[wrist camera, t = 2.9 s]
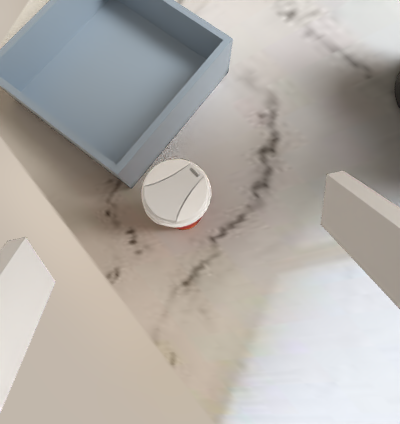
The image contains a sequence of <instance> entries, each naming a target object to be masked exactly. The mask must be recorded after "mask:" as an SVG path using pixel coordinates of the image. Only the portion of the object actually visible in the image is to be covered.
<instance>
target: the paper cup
mask: <svg viewBox="0 0 400 424" xmlns="http://www.w3.org/2000/svg"><path fill="white" fill-rule="evenodd" d="M141 198H142V203H143V206H144V209H145V213H146V214H147V215H148V217H149V218H150V219H151V220H153V221H154V222H155V223H157V224H160V225H164V226H168V227H174V228H177V229H181V230H186V229H190V228H192V227H194V226H195V225H196V224H197V223H198V222H199V221H200V219H201V217H202V216H203V214H204V213H205V212H206V210H207V208H208V206H209V204H210V200H211V185H210V182H209V179H208V177H207V175H206V174H205V172H204V171H203V170H202V169H201V168H200V167H199V166H197V165H196V164H194V163H192V162H190V161H187V160H183V159H170V160H166V161H163V162H161V163H159V164H157V165H156V166H155V167H153V168H152V169H151V170H150V171H149V173H148V174H147V176H146V177H145V179H144V181H143V184H142V189H141Z"/></svg>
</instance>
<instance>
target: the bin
mask: <svg viewBox="0 0 400 424" xmlns="http://www.w3.org/2000/svg"><path fill="white" fill-rule="evenodd" d="M232 42H233V39H232V38H231V37H229V36H228V35H226V34H225V33H223V32H222V31H220V30H219V29H217V28H215V27H214V26H212V25H211V24H209V23H208V22H206V21H205V20H203V19H202V18H200V17H199V16H197V15H195V14H194V13H192V12H191V11H189V10H188V9H186V8H185V7H183V6H182V5H180V4H179V3H177V2H176V1H174V0H50V1H49V2H48V3H47V4H46V5H45V6H44V7H43V8H42V9H41V10H40V11H39V12H38V13H37V14H36V15H35V16H34V17H33V18H32V19H31V20H30V21H29V22H28V23H27V24H26V25H25V26H24V27H22V28H21V29H20V30H19V31H18V32H17V33H16V34H15V35H14V36H13V37H12V38H11V39H10V40H9V41H8V42H7V43H6V44H5V45H4V46H3V47H2V48H1V49H0V87H1V88H2V89H3V90H5V91H6V92H7V93H8V94H9V95H10V96H12V97H13V98H14V99H15V100H17V101H18V102H19V103H20V104H22V105H23V106H24V107H26V108H27V109H28V110H30V111H31V112H32V113H34V114H35V115H36V116H37V117H39V118H40V119H41V120H43V121H44V122H45V123H47V124H48V125H49V126H50V127H52V128H53V129H54V130H56V131H57V132H58V133H60V134H61V135H62V136H64V137H65V138H66V139H67V140H69V141H70V142H71V143H73V144H74V145H75V146H77V147H78V148H79V149H80V150H82V151H83V152H84V153H86V154H87V155H88V156H90V157H91V158H92V159H94V160H95V161H96V162H97V163H99V164H100V165H101V166H103V167H104V168H105V169H107V170H108V171H109V172H110V173H112V174H113V175H114V176H116V177H117V178H118V179H120V180H121V181H122V182H124V183H125V184H126V185H127V186H129V187H130V188H132V187H133V186H134V185H135V184H136V182H137V181H138V180H139V179H140V178H141V176H142V175H143V174H144V173H145V172H146V170H147V169H148V168H149V167H150V166H151V164H152V163H153V162H154V161H155V160H156V158H157V157H158V156H159V155H160V154H161V152H162V151H163V150H164V149H165V147H166V146H167V145H168V144H169V143H170V141H171V140H172V139H173V138H174V137H175V135H176V134H177V133H178V132H179V131H180V129H181V128H182V127H183V126H184V125H185V123H186V122H187V121H188V120H189V119H190V117H191V116H192V115H193V114H194V113H195V111H196V110H197V109H198V108H199V107H200V105H201V104H202V103H203V102H204V101H205V99H206V98H207V97H208V96H209V95H210V93H211V92H212V91H213V90H214V88H215V87H216V86H217V85H218V84H219V82H220V81H221V80H222V79H223V78H224V76H225V75H226V74H227V73H228V69H229V62H230V55H231V49H232Z"/></svg>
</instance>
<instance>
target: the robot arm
mask: <svg viewBox="0 0 400 424" xmlns="http://www.w3.org/2000/svg"><path fill="white" fill-rule="evenodd" d="M395 95H396V100H397V103H398V105H399V107H400V73H399V75H398V77H397V80H396V84H395ZM321 225H322V226H323V227H324V229H325V230H326V231H327V232H328V233H329V234H330V235H331V236H332V237H333V238H334V239H335V240H336V241H337V242H338V244H339V245H340V246H341V247H342V248H343V249H344V250H345V251H346V252H347V253H348V254H349V255H350V256H351V257H352V259H353V260H354V261H355V262H356V263H357V264H358V265H359V266H360V267H361V268H362V269H363V270H364V271H365V272H366V274H367V275H368V276H369V277H370V278H371V279H372V280H373V281H374V282H375V283H376V284H377V285H378V286H379V287H380V289H381V290H382V291H383V292H384V293H385V294H386V295H387V296H388V297H389V298H390V299H391V300H392V301H393V302H394V304H395V305H396V306H397V307H398V308H399V309H400V207H398V206H397V205H395V204H394V203H392V202H391V201H389V200H388V199H386V198H385V197H383V196H382V195H380V194H378V193H377V192H375V191H374V190H372V189H371V188H369V187H368V186H366V185H365V184H363V183H362V182H360V181H359V180H357V179H356V178H354V177H353V176H351V175H350V174H348V173H346V172H345V171H339V172H334V173H329V174H327V175H326V184H325V192H324V200H323V209H322V217H321ZM55 282H56V281H55V280H54V279H53V277H52V276H51V274H50V273H49V271H48V269H47V268H46V266H45V265H44V263H43V262H42V261H41V259H40V257H39V256H38V254H37V253H36V251H35V250H34V248H33V247H32V245H31V244H30V242H29V241H28V239H27V238H26V237H24V238H19V239H14V240H9V241H7V242H6V244H5V245H4V247H3V248H2V249H1V250H0V412H1V410H2V408H3V405H4V403H5V400H6V398H7V396H8V393H9V391H10V389H11V386H12V384H13V382H14V379H15V377H16V375H17V372H18V370H19V367H20V365H21V363H22V360H23V358H24V355H25V353H26V351H27V348H28V346H29V344H30V341H31V339H32V337H33V334H34V332H35V330H36V327H37V325H38V323H39V320H40V318H41V315H42V313H43V310H44V308H45V306H46V303H47V301H48V299H49V296H50V294H51V292H52V289H53V287H54V285H55Z"/></svg>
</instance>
